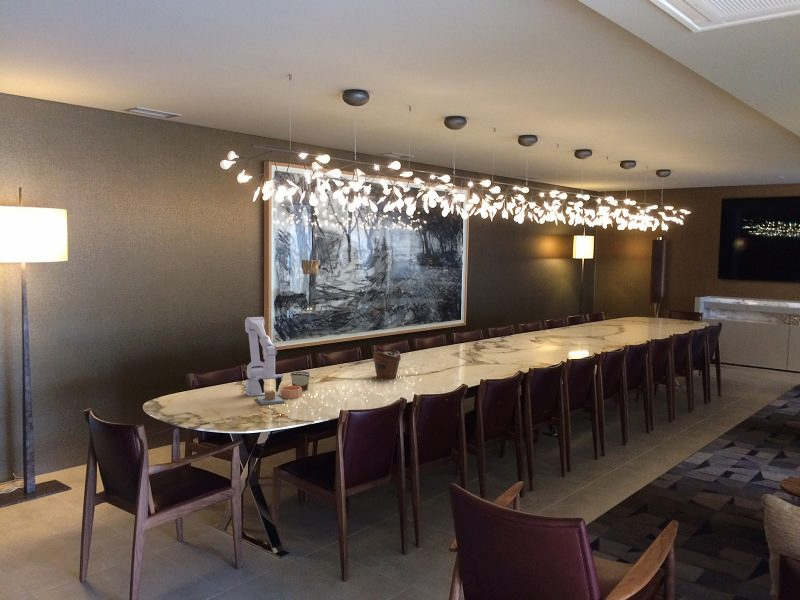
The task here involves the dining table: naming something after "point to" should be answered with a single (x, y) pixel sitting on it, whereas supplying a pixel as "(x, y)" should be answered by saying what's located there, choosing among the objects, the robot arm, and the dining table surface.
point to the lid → (269, 398)
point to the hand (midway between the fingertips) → (269, 392)
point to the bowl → (290, 391)
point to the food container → (300, 379)
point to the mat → (269, 403)
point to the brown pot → (386, 363)
